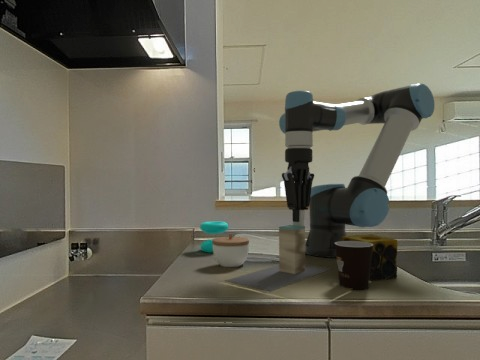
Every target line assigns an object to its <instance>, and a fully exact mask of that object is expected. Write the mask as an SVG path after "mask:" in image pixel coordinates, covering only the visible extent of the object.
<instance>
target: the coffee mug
mask: <svg viewBox="0 0 480 360" xmlns="http://www.w3.org/2000/svg"><path fill="white" fill-rule="evenodd" d="M335 249H336V257H335V258H336V265H337V272H338V282H339V283H338V284H339V286H340V287H342V288H346V289H350V290H351V291H354V292H355V291H357V292H358V291H367V290H368V289H369V286H370V285H369V284H370V280H369V278H370V269H371V260H372V252H373V244H371V243H368V242H361V241H340V242H335Z"/></svg>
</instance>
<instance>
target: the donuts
mask: <svg viewBox="0 0 480 360" xmlns="http://www.w3.org/2000/svg"><path fill="white" fill-rule="evenodd" d="M199 227H200V230H201V231H202V232H203V233H205V234H210V235H211V234H216V235H217V234H222V233H225V232H227V230H229V224H228V223H227V222H226V221H220V220H219V221H217V220H216V221H214V220H212V221H204V222H201V224H200V226H199ZM212 240H213V239H207V240H204V241H202V242H201V244H200V246H199V249H200V250H201V251H202V252H204V253H213V243H212Z"/></svg>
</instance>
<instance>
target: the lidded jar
mask: <svg viewBox="0 0 480 360" xmlns="http://www.w3.org/2000/svg"><path fill="white" fill-rule="evenodd" d="M211 240H212V243H213V256H214V257H213V258H214V259H215V261H216V262H217V264H219V266H221V267H224V268H237V267H240V266H242V265H243V264H244V263H245V262H246V260H247V259H248V255H249V247H250V245H249V244H250V239H249V238H247V237H241V236H233V233H228V236H221V237H215V238H213V239H211Z"/></svg>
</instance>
